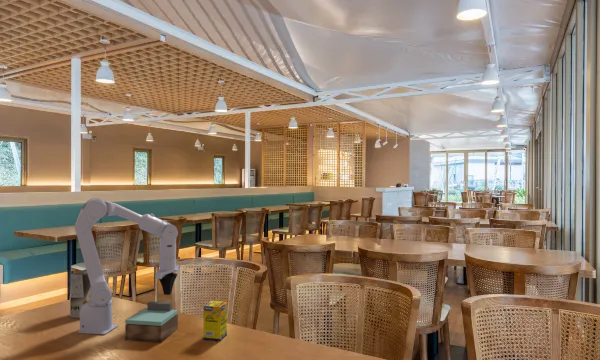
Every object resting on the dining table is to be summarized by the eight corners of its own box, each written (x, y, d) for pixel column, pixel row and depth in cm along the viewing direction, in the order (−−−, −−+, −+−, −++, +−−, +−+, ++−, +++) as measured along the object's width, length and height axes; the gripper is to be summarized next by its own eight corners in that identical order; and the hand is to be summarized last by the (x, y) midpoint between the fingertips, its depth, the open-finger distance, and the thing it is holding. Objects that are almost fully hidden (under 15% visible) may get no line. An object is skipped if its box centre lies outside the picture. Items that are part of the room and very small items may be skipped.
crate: (125, 340, 132) (125, 324, 132) (144, 326, 144) (144, 312, 144) (161, 342, 130) (161, 326, 130) (177, 328, 142) (177, 314, 142)
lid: (125, 323, 132) (125, 312, 132) (144, 311, 144) (144, 301, 144) (161, 325, 130) (161, 314, 130) (177, 313, 142) (177, 302, 142)
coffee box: (85, 318, 151) (85, 274, 151) (69, 317, 153) (69, 273, 152) (101, 310, 160) (102, 269, 160) (87, 309, 162) (87, 268, 161)
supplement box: (220, 341, 132) (220, 306, 131) (202, 340, 133) (203, 305, 133) (227, 334, 137) (227, 301, 137) (210, 333, 139) (210, 300, 138)
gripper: (169, 261, 143) (168, 300, 144) (186, 253, 158) (186, 289, 158) (149, 260, 144) (149, 299, 145) (168, 252, 159) (168, 288, 159)
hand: (167, 294), depth 151 cm, fingers closed
